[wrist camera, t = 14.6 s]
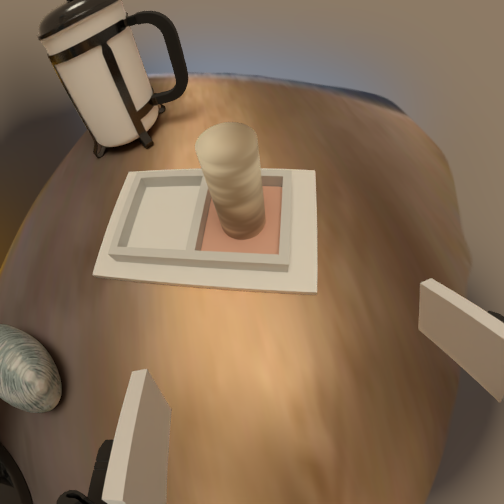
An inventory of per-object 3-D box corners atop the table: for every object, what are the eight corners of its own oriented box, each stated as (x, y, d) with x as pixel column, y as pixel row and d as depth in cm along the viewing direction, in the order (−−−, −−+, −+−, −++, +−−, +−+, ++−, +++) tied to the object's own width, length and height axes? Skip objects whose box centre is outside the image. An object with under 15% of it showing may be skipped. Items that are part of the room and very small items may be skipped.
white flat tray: (95, 277, 32) (83, 268, 30) (130, 175, 39) (123, 163, 37) (315, 294, 29) (319, 285, 27) (314, 174, 36) (316, 159, 34)
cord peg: (218, 238, 32) (188, 164, 21) (224, 201, 34) (202, 123, 23) (263, 241, 31) (254, 164, 21) (267, 202, 33) (260, 121, 23)
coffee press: (111, 181, 39) (16, 12, 13) (85, 140, 45) (18, 14, 19) (202, 120, 43) (160, -53, 17) (159, 92, 50) (118, -37, 23)
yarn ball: (-17, 376, 23) (-50, 341, 17) (16, 332, 31) (-7, 290, 24) (50, 439, 23) (21, 421, 17) (83, 385, 30) (67, 353, 24)
